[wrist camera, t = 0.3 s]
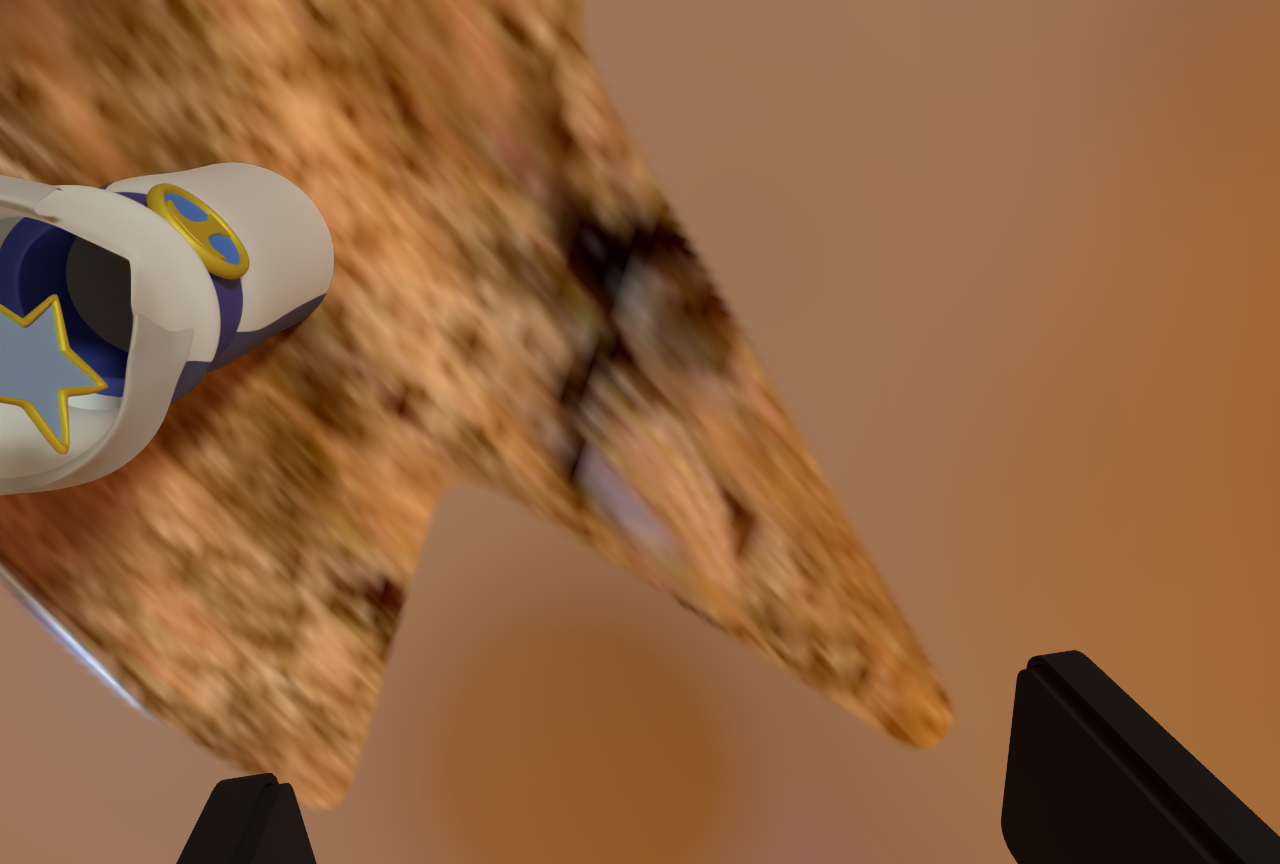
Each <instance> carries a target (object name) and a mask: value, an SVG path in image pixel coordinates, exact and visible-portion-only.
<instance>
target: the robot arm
mask: <svg viewBox="0 0 1280 864" xmlns="http://www.w3.org/2000/svg"><path fill="white" fill-rule="evenodd" d="M1001 827H1002V833H1003V836H1004V840H1005V842H1006V844H1007V847H1008V849H1009V850H1010V852H1011V854H1012V855H1013V857H1014V858H1015V860H1016V861H1017V863H1018V864H1280V837H1279V836H1278V835H1277V834H1276V833H1275V832H1274V831H1273V830H1272V829H1271V828H1270V827H1269V826H1268V825H1267V824H1266V823H1264V822H1263V821H1262V820H1261V819H1260V818H1259V817H1258V816H1257V815H1256V814H1255V813H1254V812H1253V811H1252V810H1251V809H1249V808H1248V807H1247V806H1246V805H1245V804H1244V803H1243V802H1242V801H1241V800H1240V799H1239V798H1238V797H1236V795H1234V794H1233V793H1232V792H1231V791H1230V790H1229V789H1228V788H1227V787H1226V786H1225V785H1224V784H1223V783H1222V782H1221V781H1219V779H1217V778H1216V777H1215V776H1214V775H1213V774H1212V773H1211V772H1210V771H1209V770H1208V769H1207V768H1206V767H1205V766H1204V765H1202V764H1201V763H1200V762H1199V761H1198V760H1197V759H1196V758H1195V757H1194V756H1193V755H1192V754H1191V753H1190V752H1189V751H1188V750H1186V749H1185V748H1184V747H1183V746H1182V745H1181V744H1180V743H1179V742H1178V741H1177V740H1176V739H1175V738H1174V737H1172V736H1171V735H1170V734H1169V733H1168V732H1167V731H1166V730H1165V729H1164V728H1163V727H1162V726H1161V725H1160V724H1159V723H1158V722H1157V721H1155V720H1154V719H1153V718H1152V717H1151V716H1150V715H1149V714H1148V713H1147V712H1146V711H1145V710H1144V709H1143V708H1142V707H1141V706H1139V705H1138V704H1137V703H1136V702H1135V701H1134V700H1133V699H1132V698H1131V697H1130V696H1129V695H1128V694H1126V693H1125V692H1124V691H1123V690H1122V689H1121V688H1120V687H1119V686H1118V685H1117V684H1116V683H1115V682H1114V681H1113V680H1112V679H1111V678H1109V677H1108V676H1107V675H1106V674H1105V673H1104V672H1103V671H1102V670H1101V669H1100V668H1099V667H1098V666H1097V665H1096V664H1095V663H1093V662H1092V661H1091V660H1090V659H1089V658H1088V657H1087V656H1085V655H1084V654H1083V653H1081V652H1079V651H1075V650H1072V651H1066V652H1059V653H1053V654H1046V655H1040V656H1035V657H1032V658H1031V659H1030V660H1029V661H1028V664H1027V668H1026V669H1024V670H1021V671H1020V672H1019V673H1018V676H1017V682H1016V691H1015V700H1014V709H1013V718H1012V728H1011V736H1010V744H1009V753H1008V763H1007V772H1006V780H1005V789H1004V798H1003V807H1002V816H1001ZM176 864H316V861H315V857H314V854H313V851H312V848H311V844H310V841H309V838H308V835H307V832H306V828H305V825H304V822H303V819H302V816H301V812H300V809H299V806H298V803H297V799H296V796H295V793H294V790H293V788H292V786H291V785H290V784H289V783H283V784H279V783H278V781H277V778H276V777H275V776H274V775H273V774H272V773H265V774H258V775H252V776H245V777H239V778H232V779H226V780H222V781H220V782H219V783H217V785H216V786H215V788H214V789H213V791H212V793H211V795H210V797H209V799H208V801H207V803H206V805H205V807H204V809H203V811H202V813H201V815H200V817H199V819H198V821H197V823H196V825H195V827H194V829H193V831H192V833H191V835H190V837H189V839H188V841H187V843H186V845H185V847H184V849H183V851H182V853H181V855H180V858H179V859H178V861H177V863H176Z"/></svg>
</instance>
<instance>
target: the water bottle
mask: <svg viewBox="0 0 1280 864" xmlns="http://www.w3.org/2000/svg"><path fill="white" fill-rule="evenodd" d="M333 270H334V250H333V244H332V240H331V236H330V233H329V230H328V228H327V225H326V223H325V221H324V219H323V217H322V215H321V213H320V212H319V210H318V209H317V207H316V206H315V205H314V203H313V202H312V200H311V199H310V198H309V197H308V196H307V195H306V194H305V193H304V192H303V191H302V190H301V189H299V188H298V187H297V186H296V185H294V184H293V183H292V182H290V181H289V180H287V179H286V178H284V177H282V176H281V175H279V174H277V173H275V172H273V171H270V170H268V169H265V168H262V167H259V166H255V165H251V164H245V163H219V164H213V165H209V166H205V167H200V168H196V169H191V170H186V171H181V172H174V173H166V174H157V175H148V176H141V177H134V178H128V179H124V180H120V181H117V182H113V183H110V184H107V185H104V186H102V187H99V188H94V187H88V186H79V185H58V186H51V185H47V184H43V183H39V182H34V181H29V180H24V179H19V178H14V177H8V176H3V175H0V495H10V494H17V493H33V492H43V491H51V490H57V489H63V488H68V487H73V486H77V485H81V484H85V483H88V482H91V481H94V480H97V479H99V478H102V477H104V476H106V475H108V474H110V473H112V472H114V471H116V470H117V469H119V468H121V467H122V466H124V465H125V464H127V463H128V462H129V461H131V460H132V459H133V458H134V457H135V456H137V455H138V454H139V453H140V452H141V451H142V450H143V449H144V448H145V447H146V446H147V445H148V443H149V442H150V441H151V440H152V438H153V437H154V436H155V434H156V433H157V431H158V429H159V428H160V426H161V424H162V422H163V420H164V418H165V416H166V413H167V411H168V408H169V405H170V404H171V403H173V402H175V401H176V400H178V399H180V398H181V397H183V396H184V395H185V394H187V393H188V392H189V391H190V390H191V389H193V388H194V387H195V386H196V385H197V384H198V382H199V381H200V380H201V379H202V378H203V376H204V375H205V373H208V372H211V371H214V370H216V369H218V368H221V367H223V366H225V365H227V364H229V363H231V362H233V361H235V360H237V359H238V358H240V357H241V356H243V355H245V354H246V353H248V352H249V351H251V350H252V349H253V348H255V347H256V346H258V345H259V344H261V343H262V342H264V341H265V340H267V339H269V338H270V337H272V336H274V335H276V334H277V333H279V332H281V331H283V330H285V329H287V328H289V327H291V326H293V325H295V324H297V323H299V322H300V321H302V320H303V319H305V318H306V317H307V316H309V315H310V314H311V313H312V312H313V311H314V310H315V309H316V308H317V307H318V306H319V304H320V303H321V302H322V300H323V299H324V297H325V295H326V293H327V291H328V289H329V286H330V283H331V280H332V276H333Z"/></svg>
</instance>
